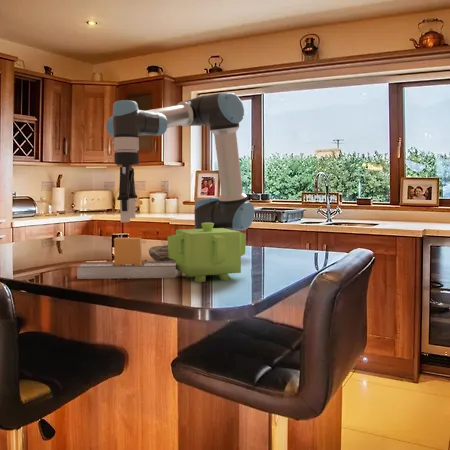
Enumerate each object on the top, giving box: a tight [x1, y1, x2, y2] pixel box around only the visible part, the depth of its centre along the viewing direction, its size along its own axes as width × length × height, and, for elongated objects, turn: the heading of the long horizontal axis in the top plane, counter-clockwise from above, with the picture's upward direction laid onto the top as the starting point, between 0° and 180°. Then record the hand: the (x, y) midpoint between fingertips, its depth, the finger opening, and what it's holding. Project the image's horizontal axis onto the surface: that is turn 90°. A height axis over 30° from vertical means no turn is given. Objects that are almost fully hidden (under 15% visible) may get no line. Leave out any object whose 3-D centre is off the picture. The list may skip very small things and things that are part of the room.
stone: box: [148, 244, 176, 262], centre depth 178 cm, size 14×10×10 cm
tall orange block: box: [113, 237, 142, 266], centre depth 152 cm, size 8×3×12 cm, turn 94°
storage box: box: [167, 223, 247, 283], centre depth 149 cm, size 25×23×17 cm
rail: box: [76, 261, 177, 280], centre depth 152 cm, size 30×8×4 cm, turn 94°
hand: (128, 220), depth 151 cm, fingers open, 13 cm apart
